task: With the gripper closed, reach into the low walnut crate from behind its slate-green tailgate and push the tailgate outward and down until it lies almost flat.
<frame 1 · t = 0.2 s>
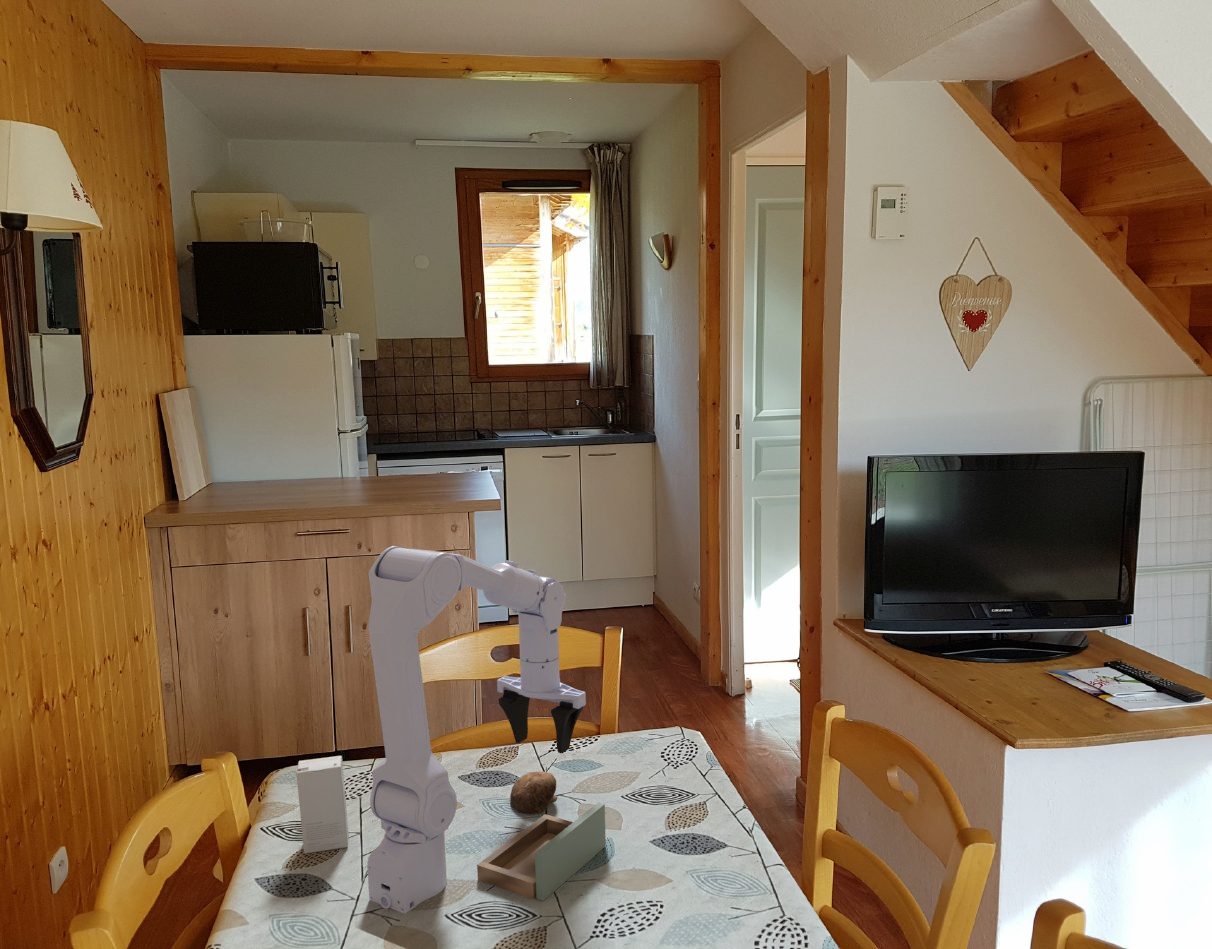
hand: (542, 745, 140), 10 cm above the table, fingers open, 7 cm apart
crate: (576, 883, 121), on the table
tailgate: (572, 849, 121), point 4 cm above the table, hinge at 0.0°
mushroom: (534, 813, 141), on the table
skincare box: (325, 846, 132), on the table
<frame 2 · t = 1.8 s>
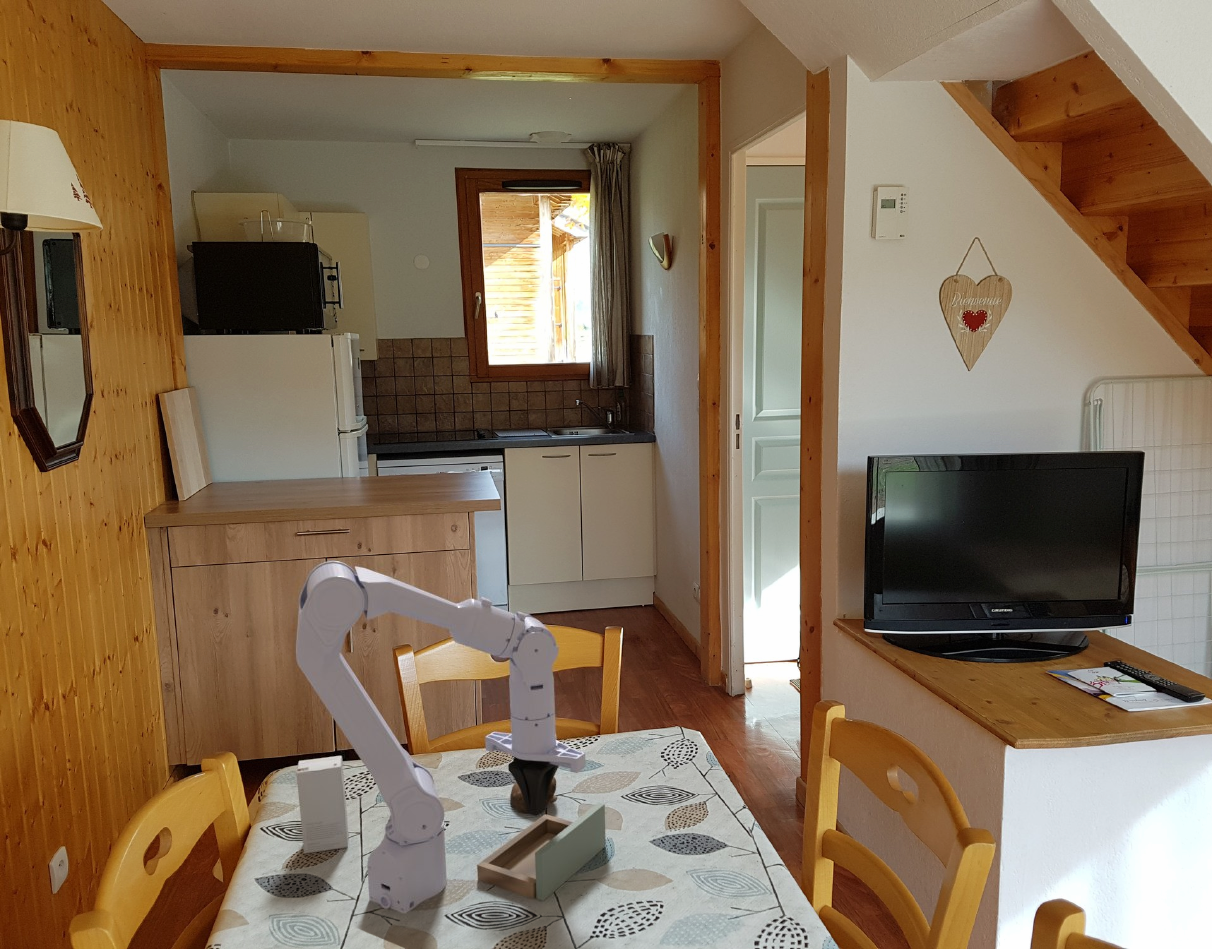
hand: (536, 811, 123), 8 cm above the table, fingers closed
nothing on the table moved.
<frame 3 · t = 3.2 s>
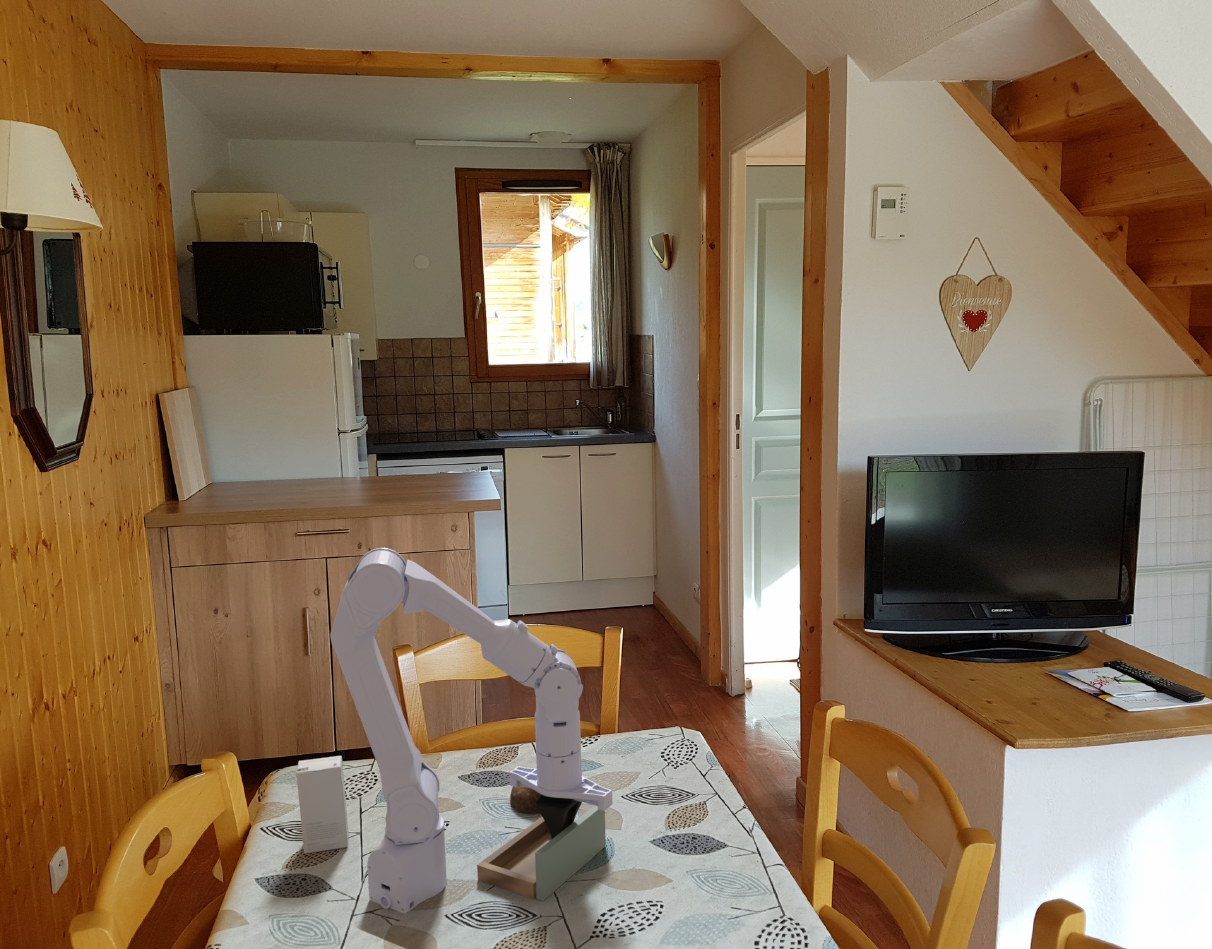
hand: (561, 848, 122), 4 cm above the table, fingers closed, pressing on tailgate
tailgate: (572, 849, 121), point 5 cm above the table, hinge at 0.2°, touching gripper
everything else where it was.
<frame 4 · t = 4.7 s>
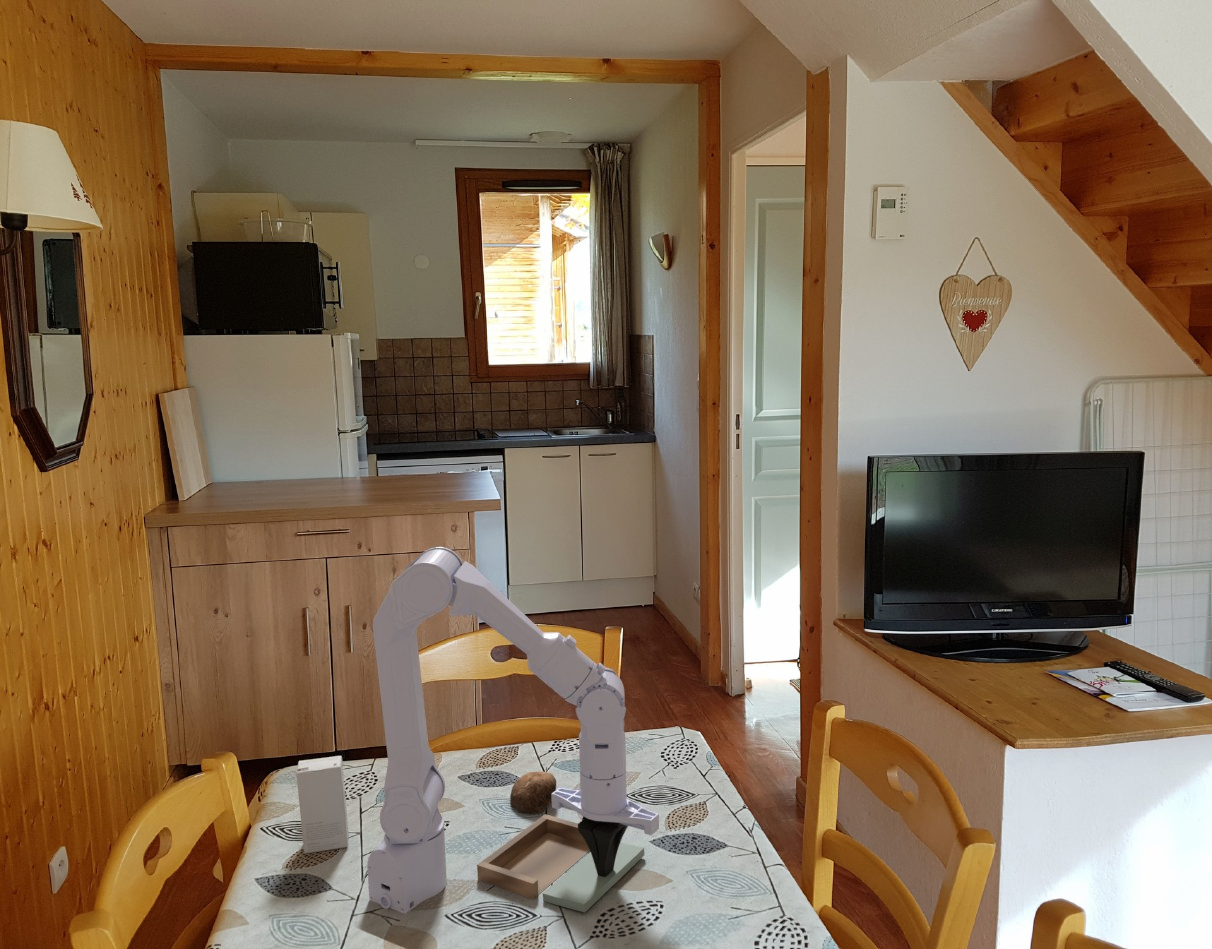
hand: (605, 872, 119), 3 cm above the table, fingers closed, pressing on tailgate
tailgate: (595, 873, 119), point 2 cm above the table, hinge at 86.5°, touching gripper
everything else where it was.
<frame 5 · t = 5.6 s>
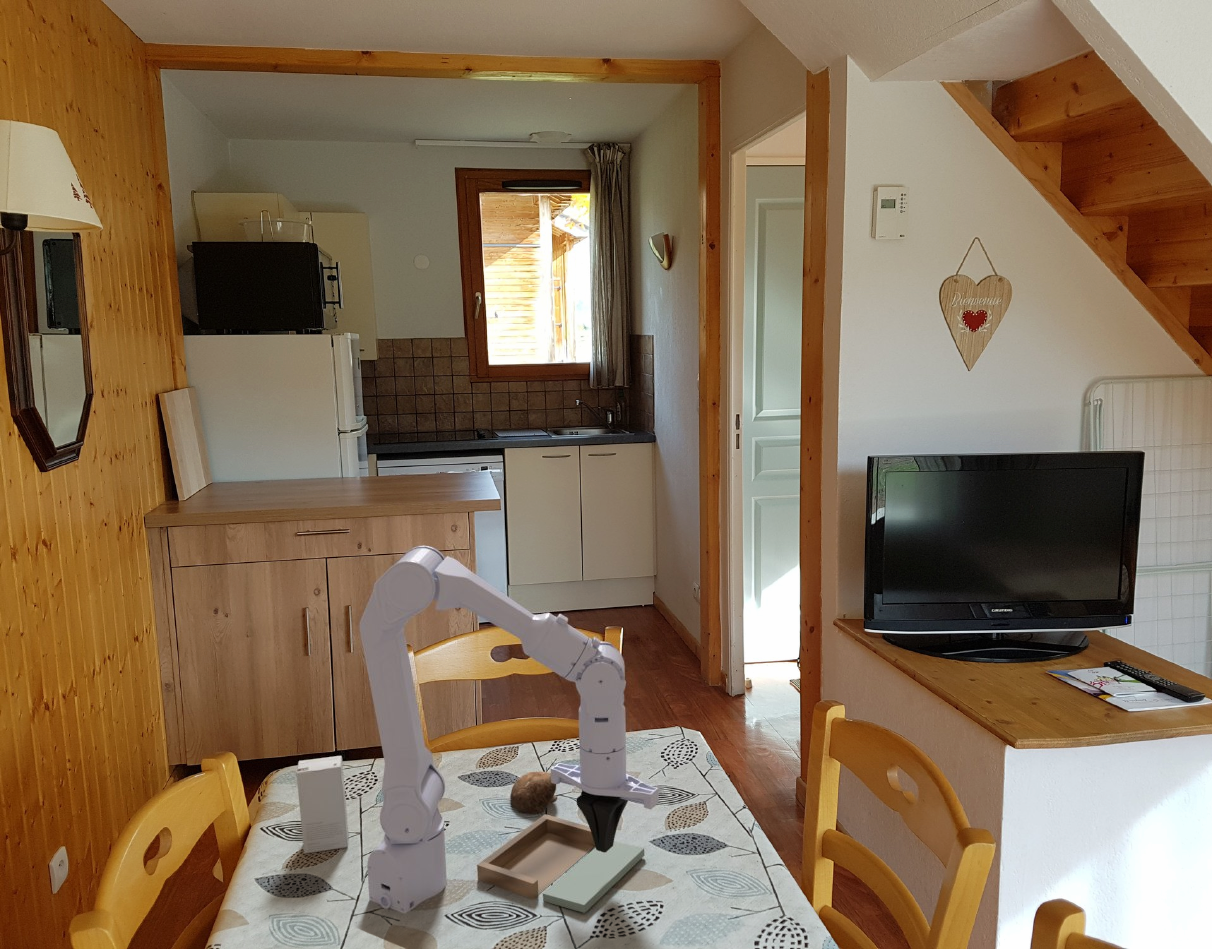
hand: (604, 847, 118), 6 cm above the table, fingers closed
tailgate: (595, 873, 119), point 2 cm above the table, hinge at 87.0°
everything else where it was.
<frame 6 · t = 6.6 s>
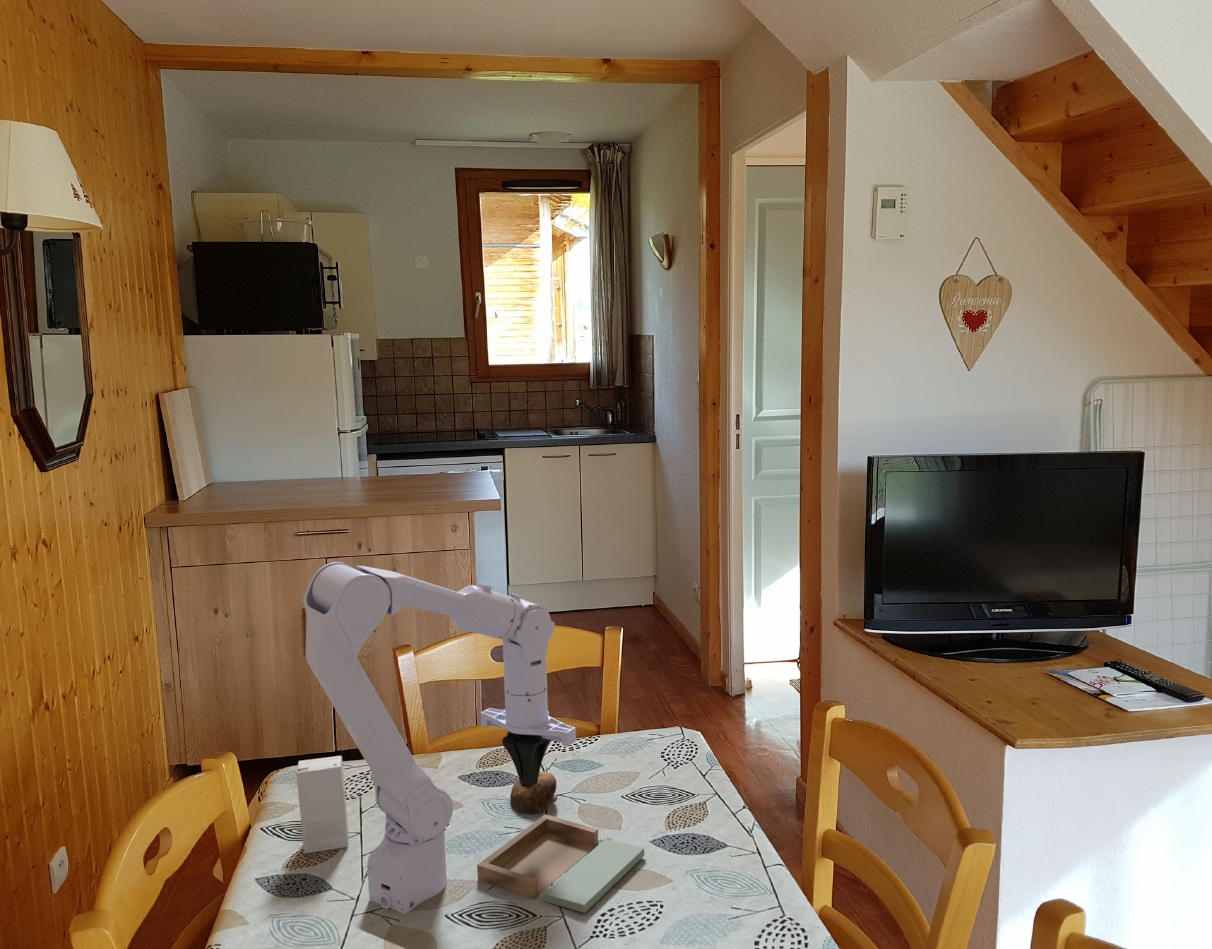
hand: (529, 784, 129), 9 cm above the table, fingers closed
nothing on the table moved.
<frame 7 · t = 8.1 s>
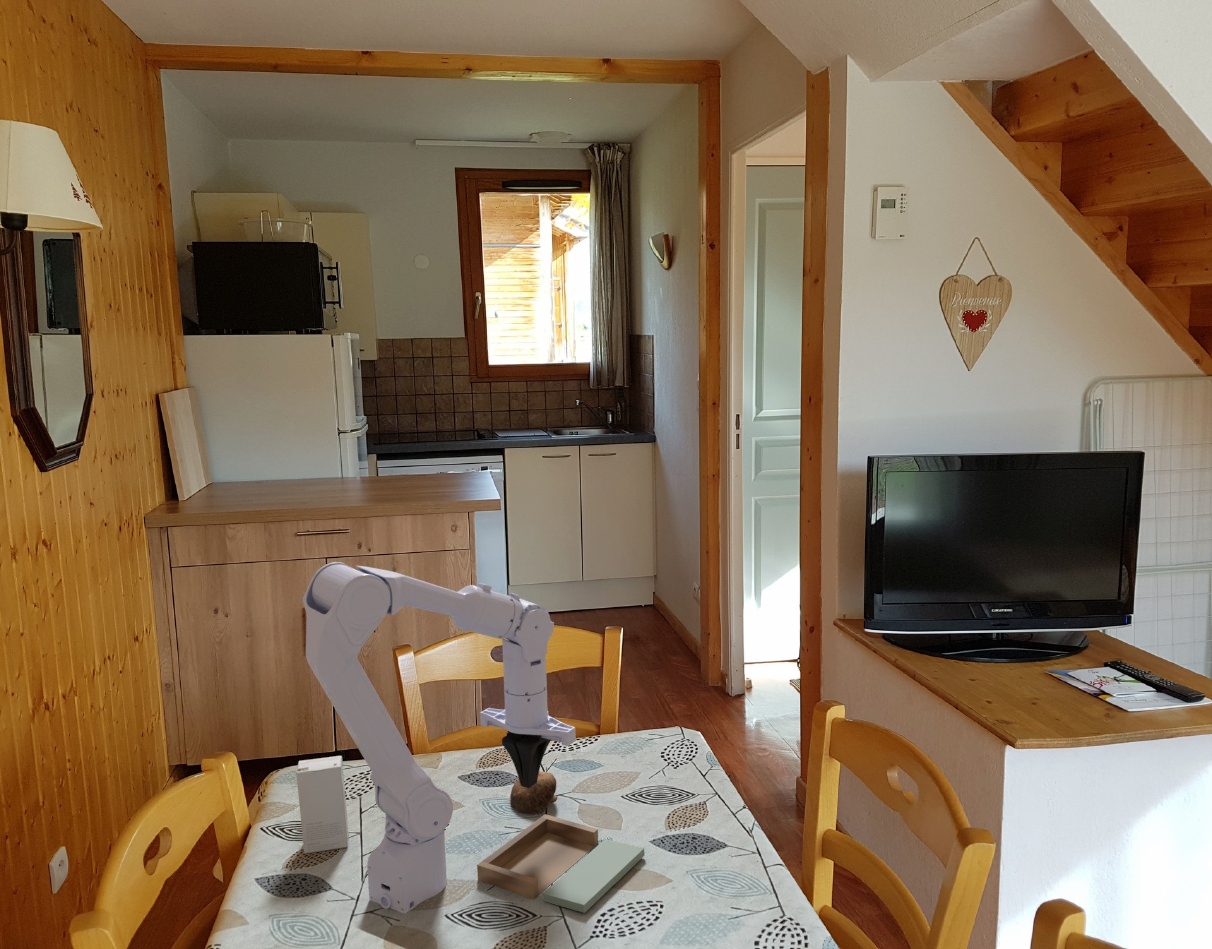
hand: (528, 784, 129), 9 cm above the table, fingers closed
nothing on the table moved.
at the end: tailgate at +87° (first picture: +0°); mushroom moved 0.3 cm from its start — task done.
